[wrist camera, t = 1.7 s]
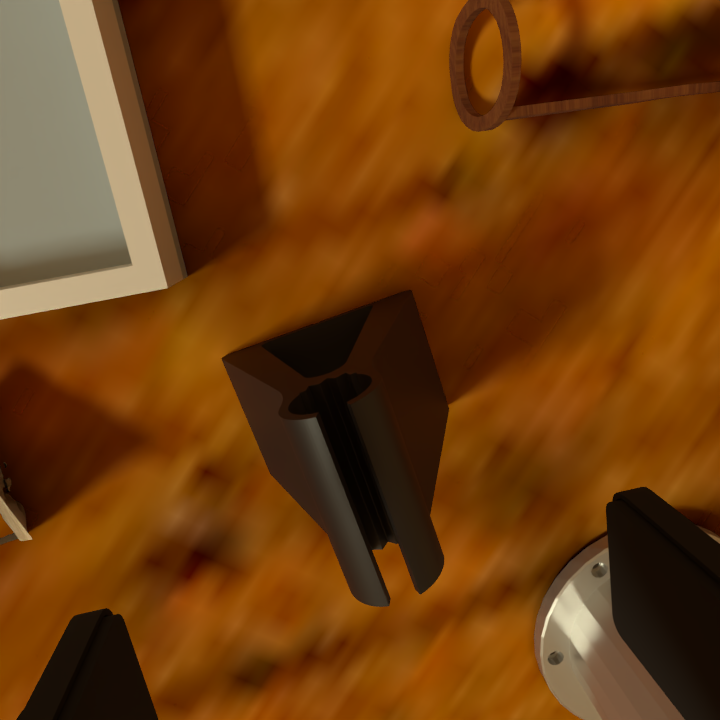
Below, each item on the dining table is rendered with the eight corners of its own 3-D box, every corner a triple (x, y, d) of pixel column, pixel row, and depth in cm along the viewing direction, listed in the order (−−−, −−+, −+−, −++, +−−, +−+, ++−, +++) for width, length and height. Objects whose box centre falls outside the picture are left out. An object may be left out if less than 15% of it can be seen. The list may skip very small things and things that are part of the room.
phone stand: (269, 469, 27) (250, 656, 16) (222, 355, 26) (162, 470, 14) (447, 406, 28) (556, 546, 16) (410, 289, 26) (502, 349, 14)
